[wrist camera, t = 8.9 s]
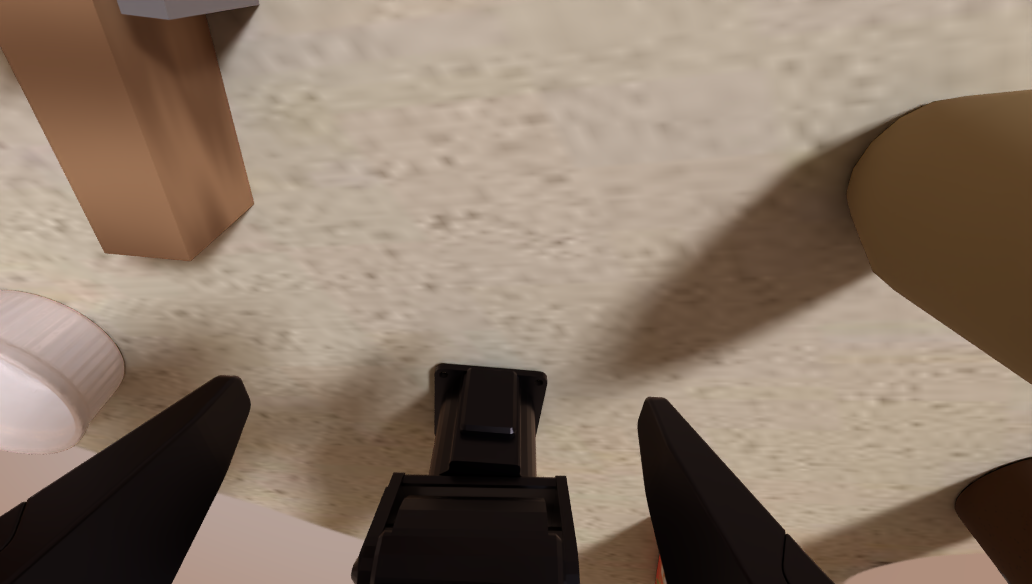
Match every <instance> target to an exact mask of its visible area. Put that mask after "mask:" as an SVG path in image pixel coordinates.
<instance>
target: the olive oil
mask: <svg viewBox="0 0 1032 584" xmlns="http://www.w3.org/2000/svg"><path fill="white" fill-rule="evenodd" d="M955 510H956V513H957V514H958V516H959V517H960V519H961V520H962V522H963V523H964V524H965V526H966V527H967V528H968V530H969V531H970V532H971V534H972V535H973V536H974V538H975V539H976V540H977V542H978V543H979V544H980V546H981V547H982V548H983V550H984V551H985V552H986V554H987V555H988V556H989V558H990V559H991V560H992V562H993V563H994V564H995V566H996V567H997V568H998V570H999V572H1000V573H1001V574H1002V576H1003V577H1004V578H1005V580H1006V581H1007V582H1008V584H1032V458H1031V459H1027V460H1024V461H1020V462H1017V463H1014V464H1011V465H1008V466H1005V467H1003V468H1000V469H998V470H996V471H994V472H991V473H989V474H987V475H985V476H984V477H982V478H980V479H978V480H977V481H975V482H974V483H972V484H971V485H970V486H968V487H967V488H966V489H965V490H964V491H963V492H962V493H961V494H960V495H959V497H958V499H957V501H956V504H955Z"/></svg>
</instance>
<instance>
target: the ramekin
mask: <svg viewBox="0 0 1032 584" xmlns="http://www.w3.org/2000/svg"><path fill="white" fill-rule="evenodd" d="M123 377H124V361H123V358H122V355H121V353H120V351H119V349H118V347H117V346H116V344H115V343H114V342H113V340H112V339H111V338H110V337H109V336H108V335H107V334H106V333H105V332H104V331H103V330H102V329H101V328H100V327H99V326H98V325H96V324H95V323H94V322H92V321H91V320H90V319H88V318H87V317H85V316H84V315H82V314H81V313H79V312H77V311H75V310H74V309H72V308H70V307H68V306H66V305H63V304H61V303H59V302H57V301H54V300H51V299H48V298H46V297H42V296H39V295H35V294H31V293H26V292H20V291H12V290H0V450H4V451H9V452H14V453H23V454H51V453H57V452H61V451H64V450H68V449H69V448H72V447H73V446H75V445H76V444H77V443H78V442H79V441H80V440H81V438H82V437H83V436H84V434H85V433H86V430H87V428H88V426H89V423H90V422H91V421H92V419H93V418H94V417H95V416H96V414H97V413H98V412H99V411H100V409H101V408H102V407H103V406H104V405H105V403H106V402H107V401H108V400H109V398H110V397H111V396H112V395H113V393H114V392H115V391H116V390H117V388H118V387H119V385H120V383H121V381H122V379H123Z"/></svg>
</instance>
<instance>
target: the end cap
mask: <svg viewBox="0 0 1032 584" xmlns="http://www.w3.org/2000/svg"><path fill="white" fill-rule="evenodd" d="M117 3H118V6H119V8H120V11H121V14H126V15H134V16H142V17H150V18H158V19H167V20H172V19H178V18H183V17H189V16H195V15H201V14H207V13H213V12H219V11H225V10H231V9H237V8H243V7H249V6H255V5H259V1H258V0H117Z"/></svg>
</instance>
